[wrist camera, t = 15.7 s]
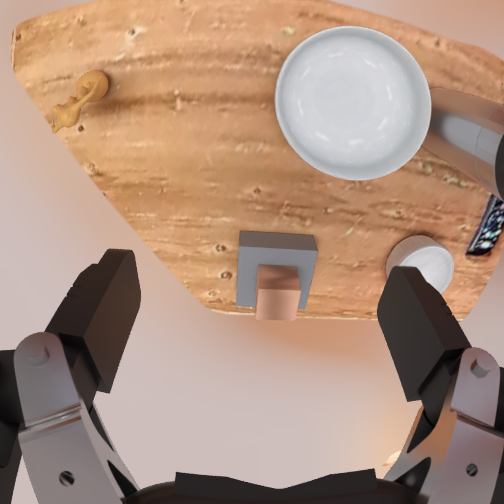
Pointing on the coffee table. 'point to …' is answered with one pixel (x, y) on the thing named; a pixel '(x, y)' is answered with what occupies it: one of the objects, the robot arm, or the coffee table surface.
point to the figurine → (80, 99)
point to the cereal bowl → (352, 103)
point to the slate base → (273, 261)
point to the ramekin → (424, 260)
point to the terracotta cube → (277, 292)
